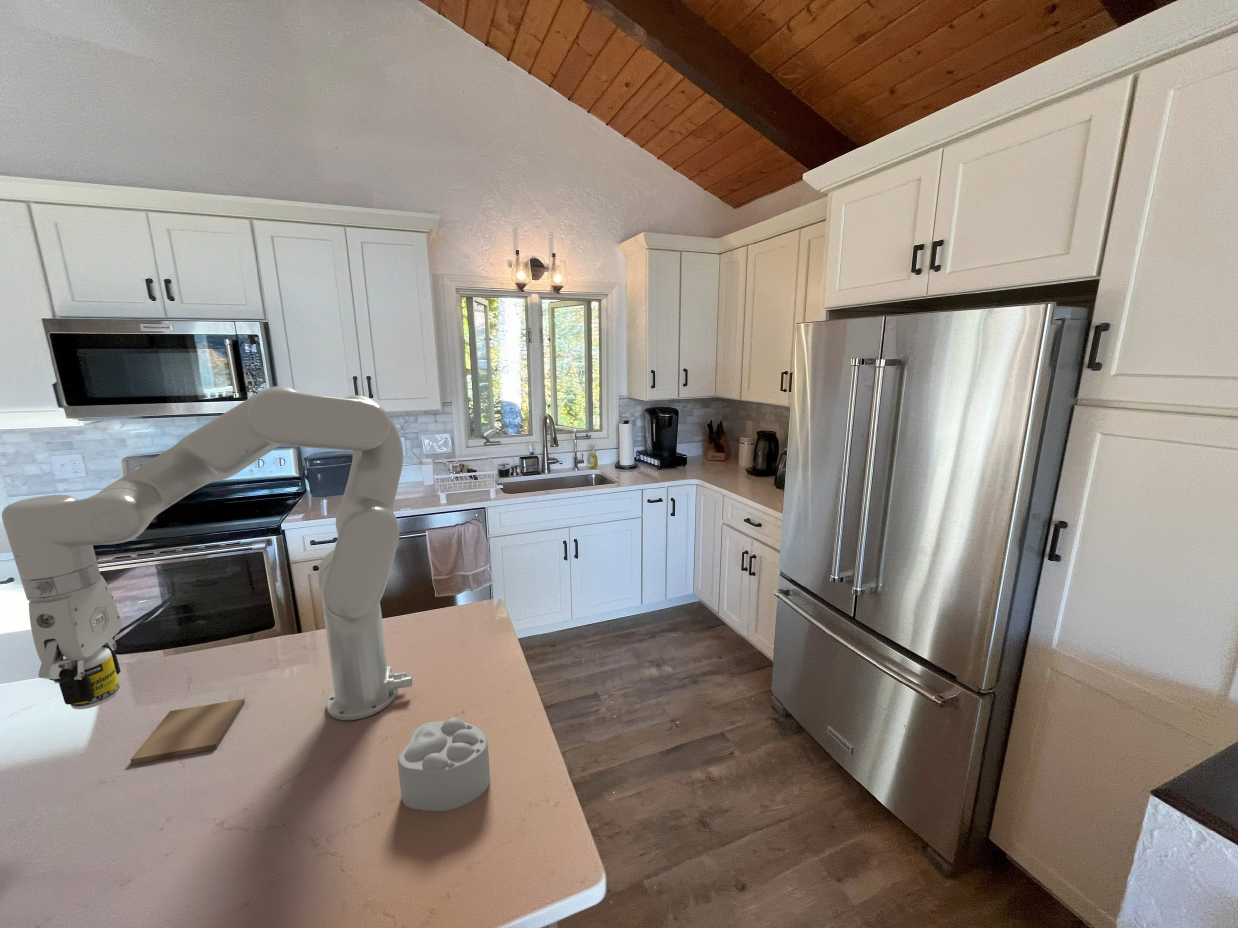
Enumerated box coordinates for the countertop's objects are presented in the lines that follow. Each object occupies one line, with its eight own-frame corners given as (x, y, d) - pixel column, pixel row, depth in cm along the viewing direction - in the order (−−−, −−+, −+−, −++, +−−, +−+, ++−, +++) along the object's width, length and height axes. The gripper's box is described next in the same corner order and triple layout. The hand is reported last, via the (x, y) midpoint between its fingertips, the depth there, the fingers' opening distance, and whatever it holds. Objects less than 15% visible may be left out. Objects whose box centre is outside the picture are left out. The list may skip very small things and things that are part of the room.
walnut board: (245, 703, 98) (244, 698, 98) (216, 748, 87) (215, 743, 87) (171, 715, 95) (170, 710, 95) (131, 764, 84) (130, 759, 83)
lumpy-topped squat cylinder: (423, 755, 86) (419, 711, 84) (498, 758, 85) (495, 714, 84) (394, 809, 76) (388, 760, 74) (478, 813, 75) (475, 764, 73)
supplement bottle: (89, 712, 75) (72, 654, 72) (61, 708, 76) (43, 650, 73) (130, 689, 80) (115, 633, 77) (103, 685, 81) (87, 630, 78)
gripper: (52, 603, 66) (87, 721, 70) (130, 554, 82) (155, 652, 86) (-24, 613, 64) (17, 733, 68) (72, 560, 80) (100, 660, 84)
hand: (94, 686), depth 77 cm, fingers closed on supplement bottle, 5 cm apart
